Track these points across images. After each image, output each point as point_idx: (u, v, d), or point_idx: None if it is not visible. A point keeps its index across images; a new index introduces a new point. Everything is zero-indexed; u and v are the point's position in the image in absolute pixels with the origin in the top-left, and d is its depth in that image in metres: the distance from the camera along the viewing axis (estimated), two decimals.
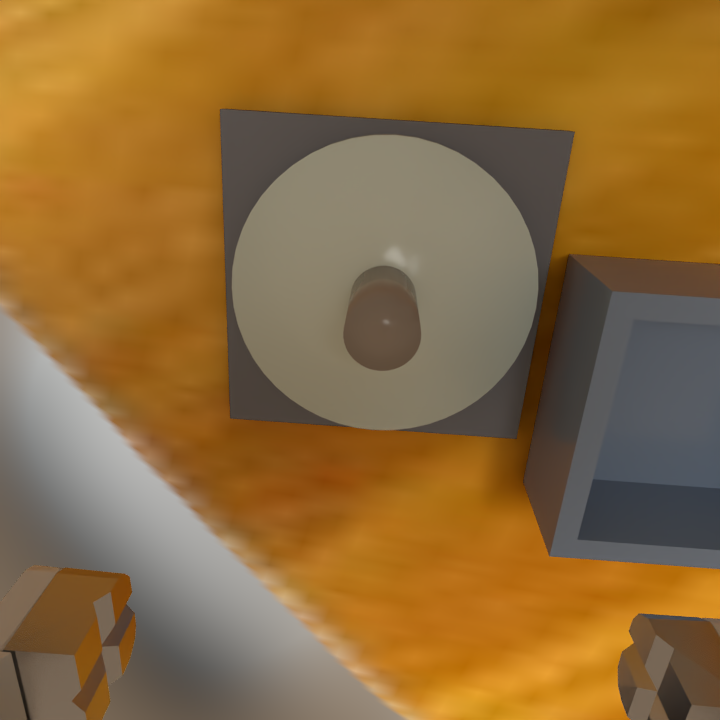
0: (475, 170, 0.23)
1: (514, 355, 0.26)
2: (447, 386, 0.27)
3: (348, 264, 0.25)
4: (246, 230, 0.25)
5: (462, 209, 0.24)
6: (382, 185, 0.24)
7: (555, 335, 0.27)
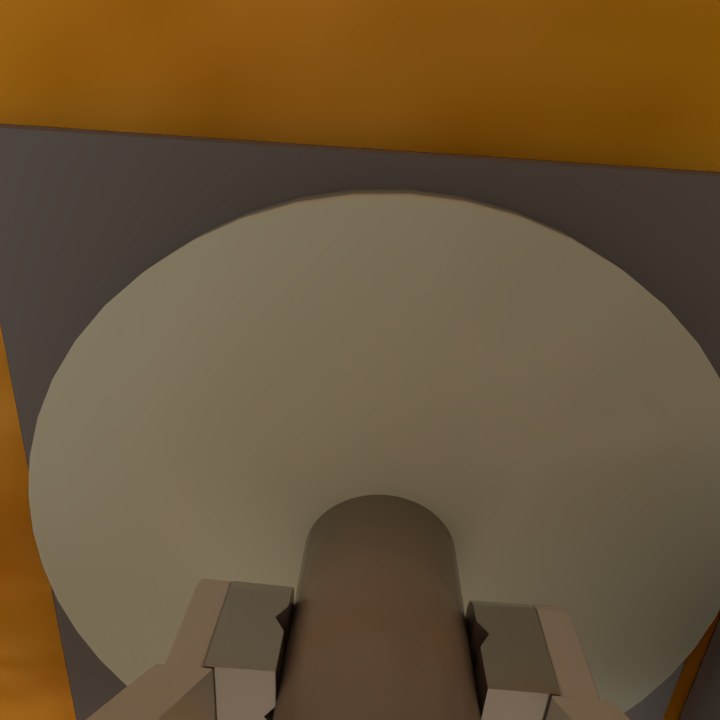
0: (618, 285, 0.09)
1: (670, 666, 0.12)
2: None
3: (297, 491, 0.11)
4: (48, 416, 0.10)
5: (578, 378, 0.09)
6: (376, 321, 0.09)
7: None
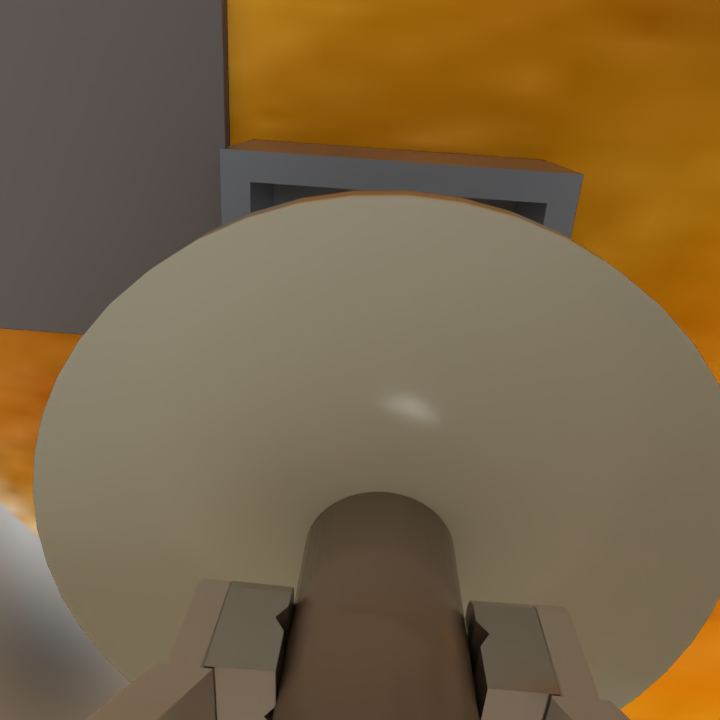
0: (614, 285, 0.09)
1: (666, 662, 0.12)
2: None
3: (298, 488, 0.11)
4: (53, 414, 0.10)
5: (574, 376, 0.10)
6: (376, 320, 0.09)
7: None
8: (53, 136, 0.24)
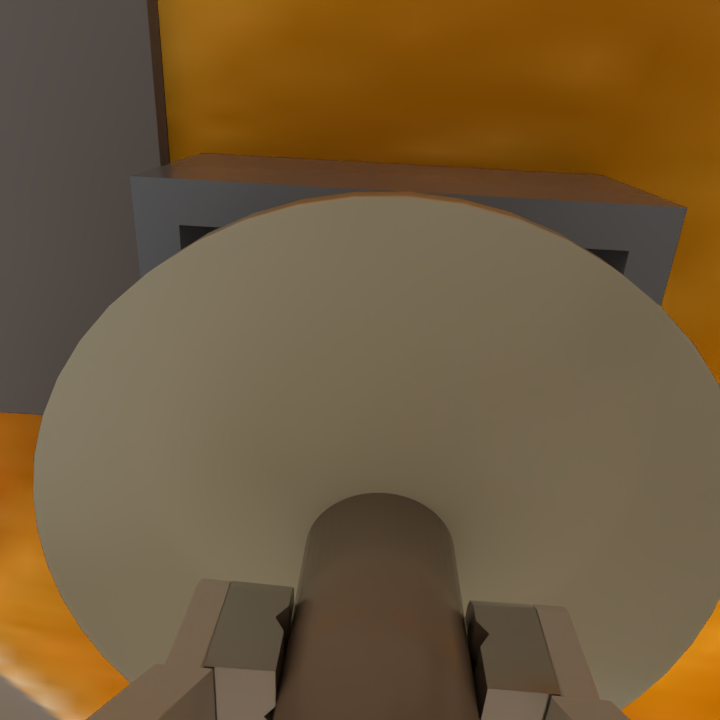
0: (615, 287, 0.09)
1: (666, 663, 0.12)
2: None
3: (298, 489, 0.11)
4: (53, 415, 0.10)
5: (575, 377, 0.10)
6: (376, 321, 0.09)
7: None
8: None
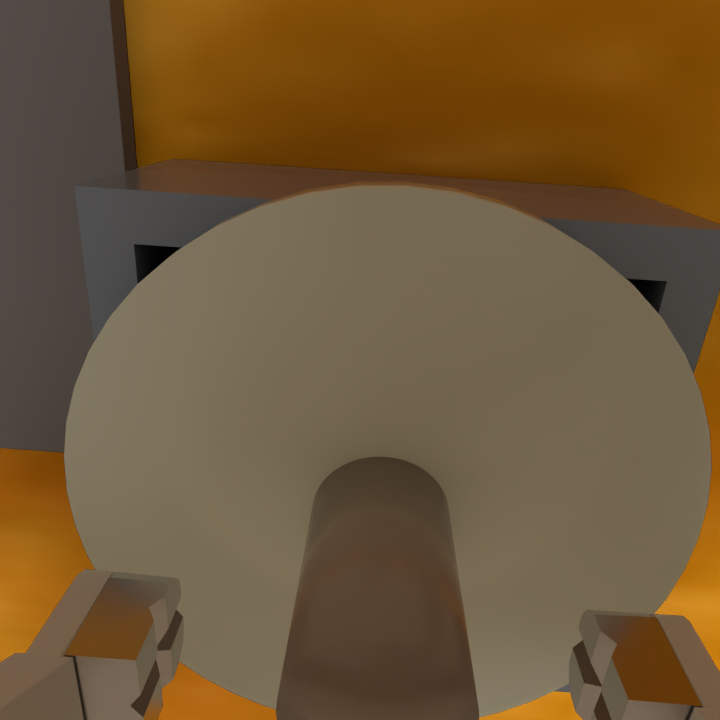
0: (591, 266, 0.10)
1: None
2: (506, 663, 0.14)
3: (306, 453, 0.12)
4: (84, 385, 0.11)
5: (556, 349, 0.11)
6: (377, 298, 0.10)
7: None
8: None
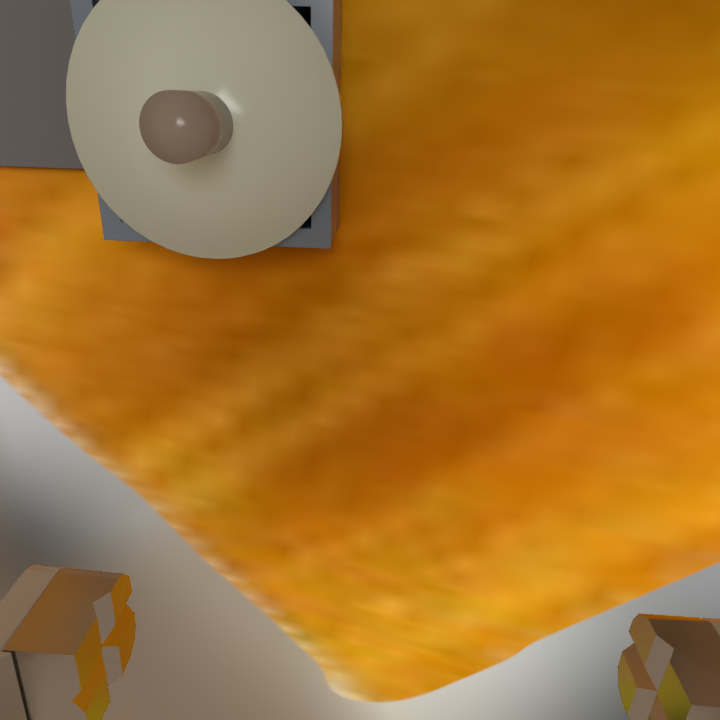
0: None
1: (329, 176, 0.29)
2: (274, 211, 0.30)
3: None
4: (73, 60, 0.27)
5: (261, 31, 0.27)
6: (187, 10, 0.26)
7: None
8: None
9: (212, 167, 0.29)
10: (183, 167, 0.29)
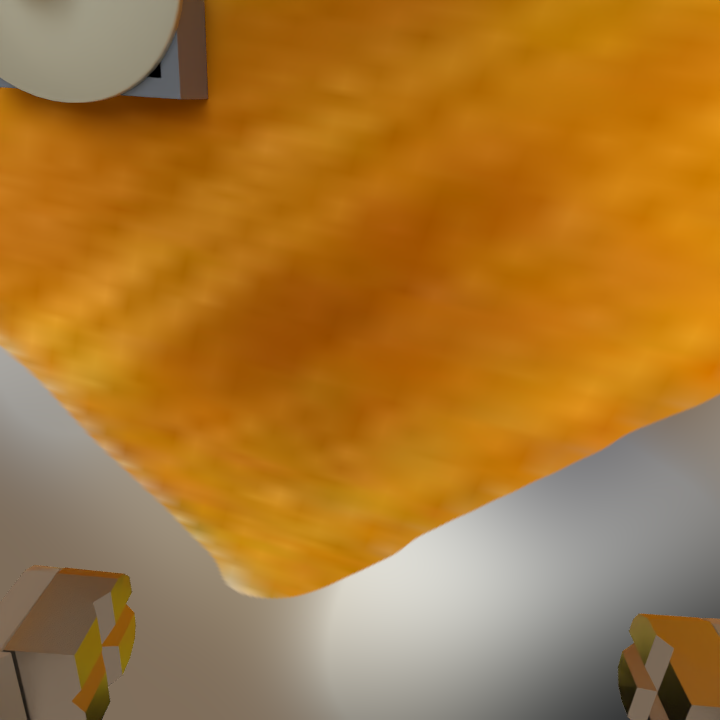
0: None
1: (169, 19, 0.31)
2: (120, 54, 0.32)
3: None
4: None
5: None
6: None
7: None
8: None
9: (60, 7, 0.31)
10: (33, 6, 0.31)
